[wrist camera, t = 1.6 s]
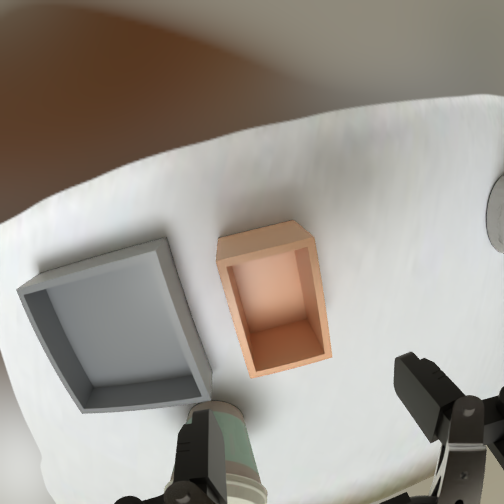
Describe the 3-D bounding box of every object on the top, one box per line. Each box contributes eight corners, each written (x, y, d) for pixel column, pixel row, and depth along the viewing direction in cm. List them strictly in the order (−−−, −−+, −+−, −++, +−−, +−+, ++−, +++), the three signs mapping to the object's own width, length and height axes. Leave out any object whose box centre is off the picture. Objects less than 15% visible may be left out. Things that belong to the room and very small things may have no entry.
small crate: (293, 219, 24) (314, 237, 19) (311, 319, 27) (332, 357, 21) (218, 238, 24) (215, 261, 18) (245, 336, 27) (250, 378, 21)
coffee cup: (171, 388, 28) (153, 488, 16) (258, 390, 29) (275, 490, 17) (179, 441, 30) (170, 528, 19) (254, 443, 31) (266, 530, 19)
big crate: (166, 237, 24) (155, 250, 20) (212, 372, 28) (211, 400, 24) (38, 273, 24) (16, 289, 20) (94, 389, 27) (82, 413, 23)
